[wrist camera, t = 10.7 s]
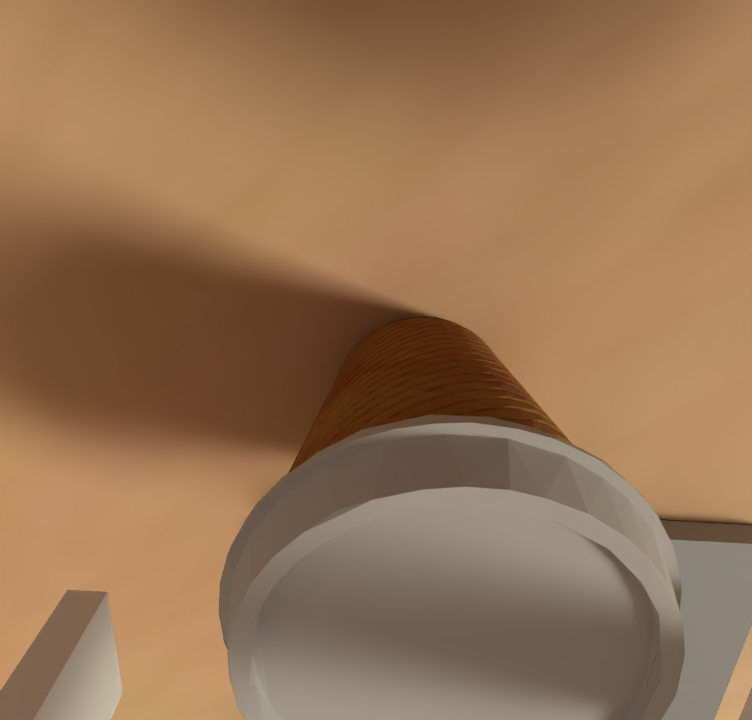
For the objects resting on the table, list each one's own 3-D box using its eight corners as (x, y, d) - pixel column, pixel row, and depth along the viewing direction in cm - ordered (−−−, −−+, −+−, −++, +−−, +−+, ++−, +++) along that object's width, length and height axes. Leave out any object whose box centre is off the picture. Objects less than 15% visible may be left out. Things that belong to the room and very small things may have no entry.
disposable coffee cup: (329, 519, 25) (283, 854, 13) (262, 303, 21) (123, 517, 10) (561, 478, 24) (715, 802, 13) (531, 245, 20) (709, 409, 9)
